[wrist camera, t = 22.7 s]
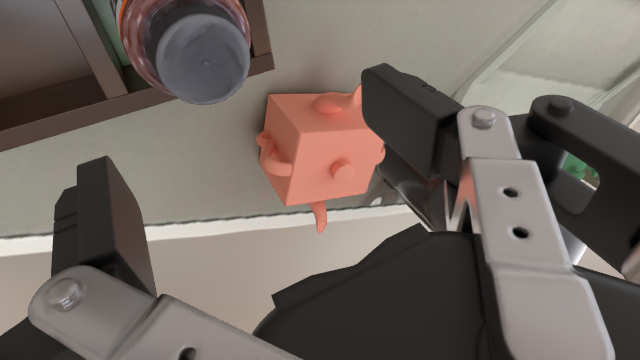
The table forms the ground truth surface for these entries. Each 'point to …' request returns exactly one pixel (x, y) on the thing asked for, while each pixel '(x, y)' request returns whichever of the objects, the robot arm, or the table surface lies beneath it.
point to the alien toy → (577, 167)
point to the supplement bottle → (186, 45)
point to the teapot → (318, 148)
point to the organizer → (79, 67)
